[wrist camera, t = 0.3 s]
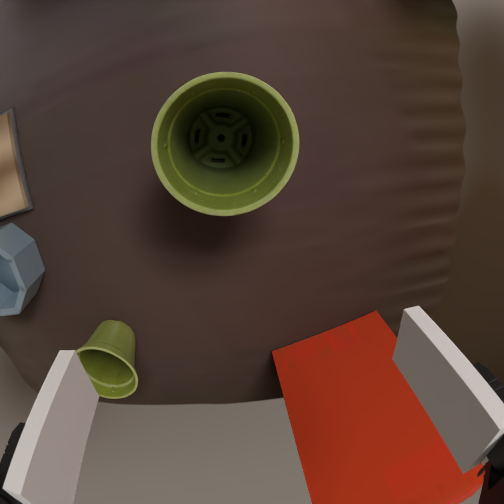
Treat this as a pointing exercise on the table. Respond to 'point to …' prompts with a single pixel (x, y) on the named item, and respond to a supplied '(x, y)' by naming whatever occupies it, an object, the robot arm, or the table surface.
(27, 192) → the charcoal mat
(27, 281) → the slate-blue bowl
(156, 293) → the table surface
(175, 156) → the plant pot
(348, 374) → the file binder
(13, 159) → the oak board
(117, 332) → the plant pot
